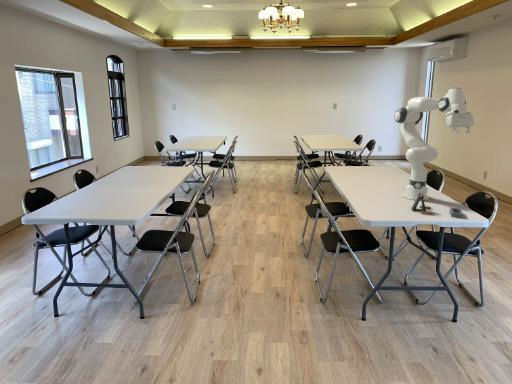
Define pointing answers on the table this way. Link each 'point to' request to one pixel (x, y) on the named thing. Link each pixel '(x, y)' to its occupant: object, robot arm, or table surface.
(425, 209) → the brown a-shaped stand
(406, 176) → the table surface
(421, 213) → the walled lane
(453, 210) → the pit tray
